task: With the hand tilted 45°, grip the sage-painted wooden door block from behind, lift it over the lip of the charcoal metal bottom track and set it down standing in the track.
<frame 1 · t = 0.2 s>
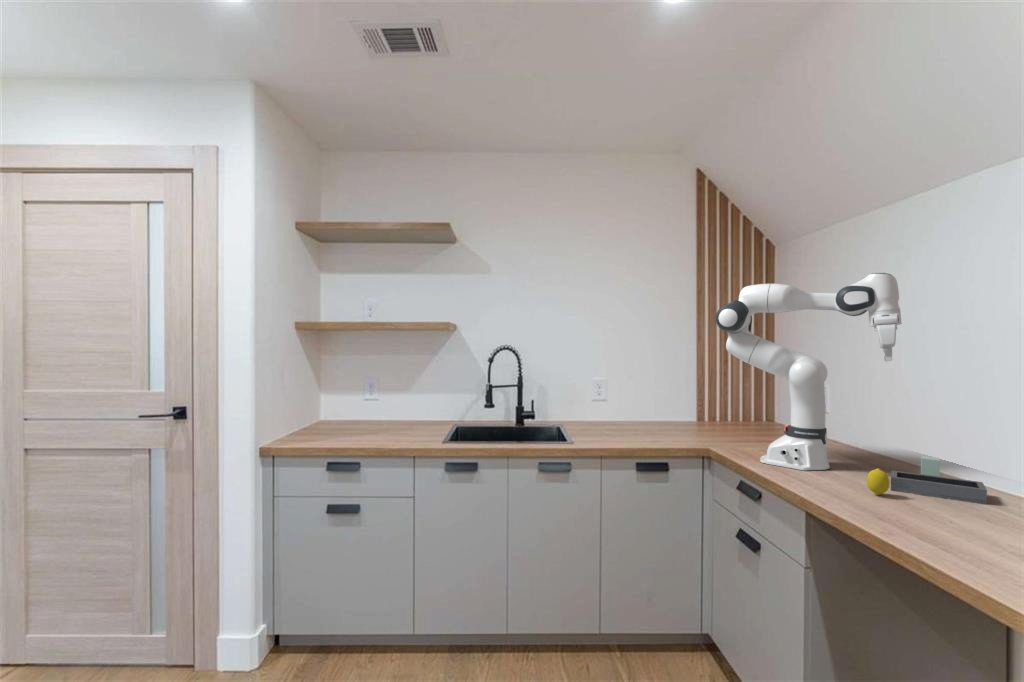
hand: (888, 361, 178), 39 cm above the table, tool pointing down, fingers open, 8 cm apart
lemon: (877, 496, 157), on the table
bottom track: (935, 492, 160), on the table
door block: (929, 482, 171), on the table
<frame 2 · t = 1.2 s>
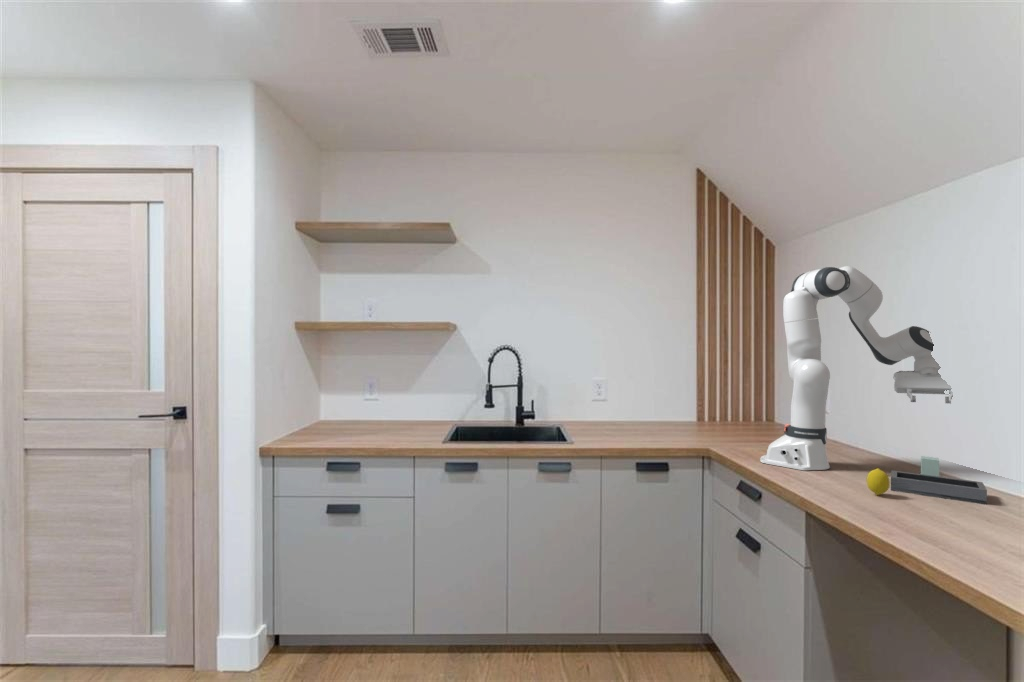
hand: (930, 401, 181), 25 cm above the table, tool tilted 45°, fingers open, 8 cm apart
nothing on the table moved.
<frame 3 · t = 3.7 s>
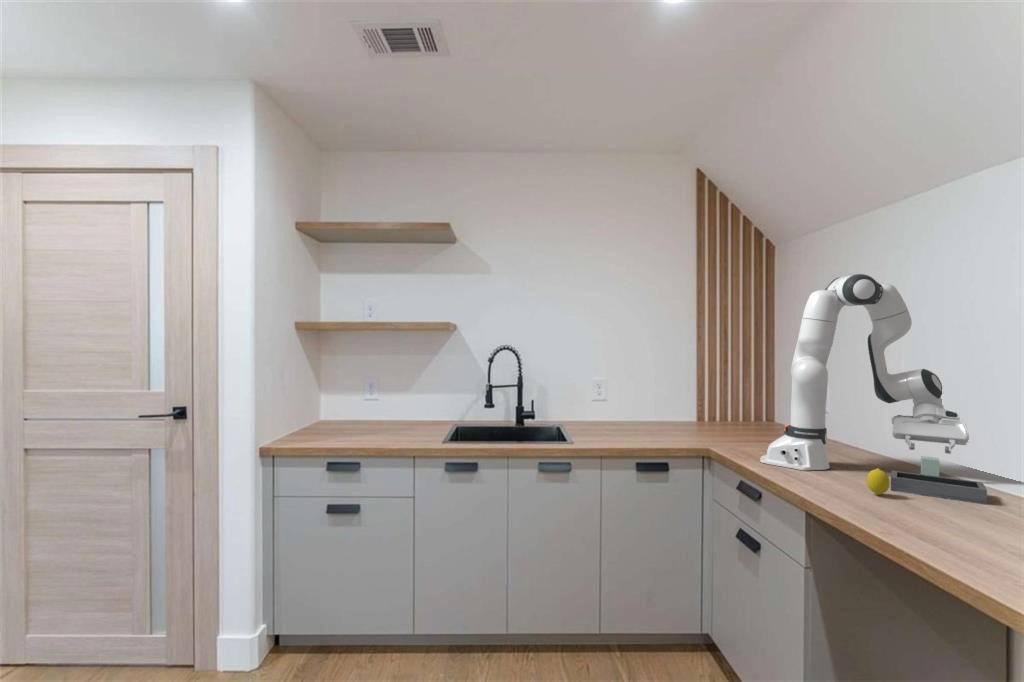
hand: (929, 450, 175), 9 cm above the table, tool tilted 45°, fingers open, 8 cm apart
nothing on the table moved.
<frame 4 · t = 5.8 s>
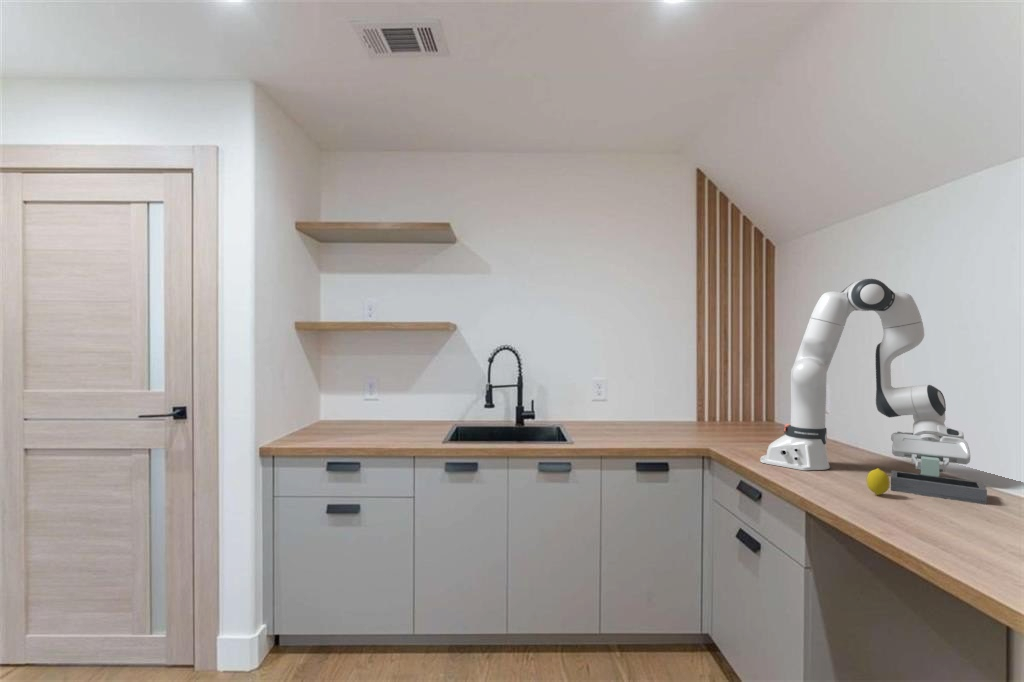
hand: (930, 469, 170), 4 cm above the table, tool tilted 45°, fingers closed on door block, 4 cm apart
door block: (929, 482, 171), on the table, touching gripper
everything else where it was.
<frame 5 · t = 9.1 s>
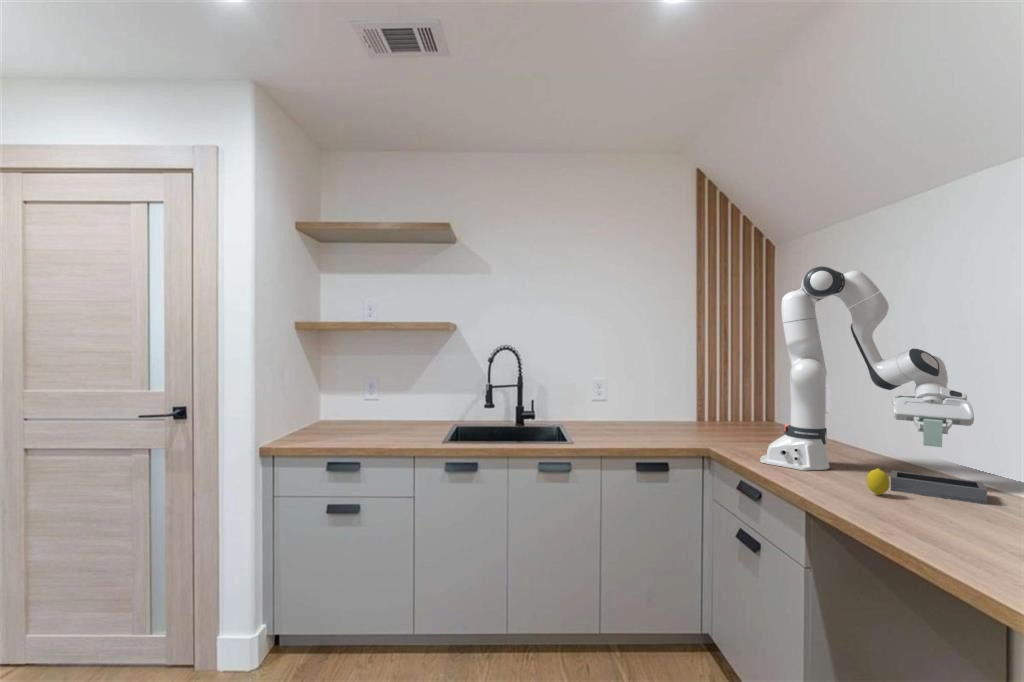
hand: (932, 431, 167), 17 cm above the table, tool tilted 45°, fingers closed on door block, 4 cm apart
door block: (932, 445, 167), point 13 cm above the table, touching gripper
everything else where it was.
when the fingers open (7 cm above the table, at t = 12.7 s): door block drops 1 cm, resting on bottom track.
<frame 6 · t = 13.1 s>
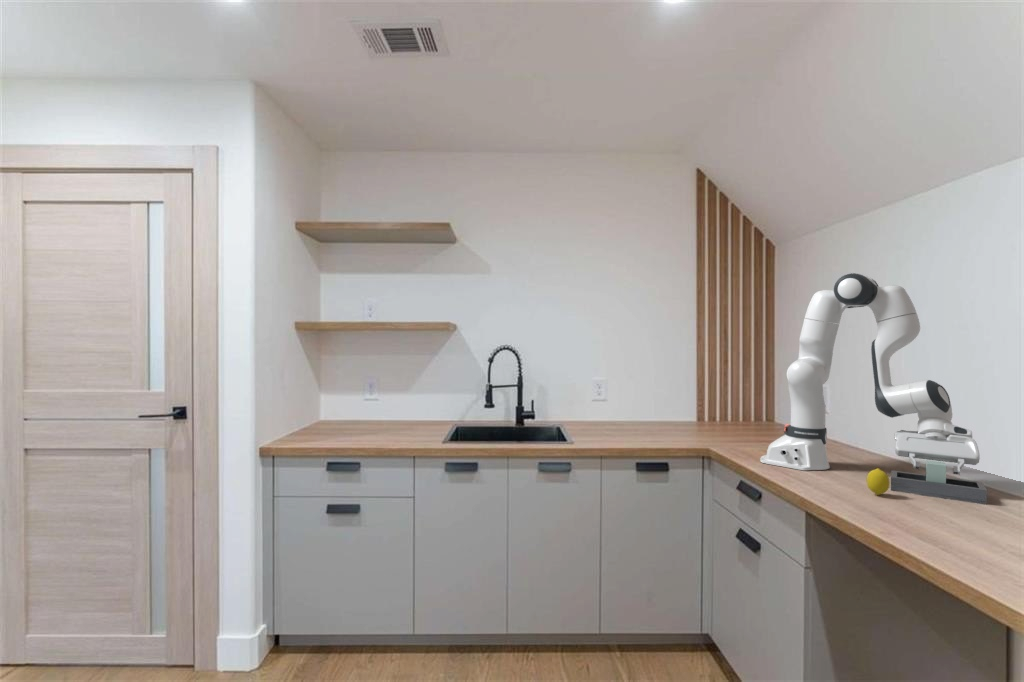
hand: (936, 470, 159), 7 cm above the table, tool tilted 45°, fingers open, 8 cm apart
door block: (935, 489, 160), point 1 cm above the table, touching bottom track
everything else where it was.
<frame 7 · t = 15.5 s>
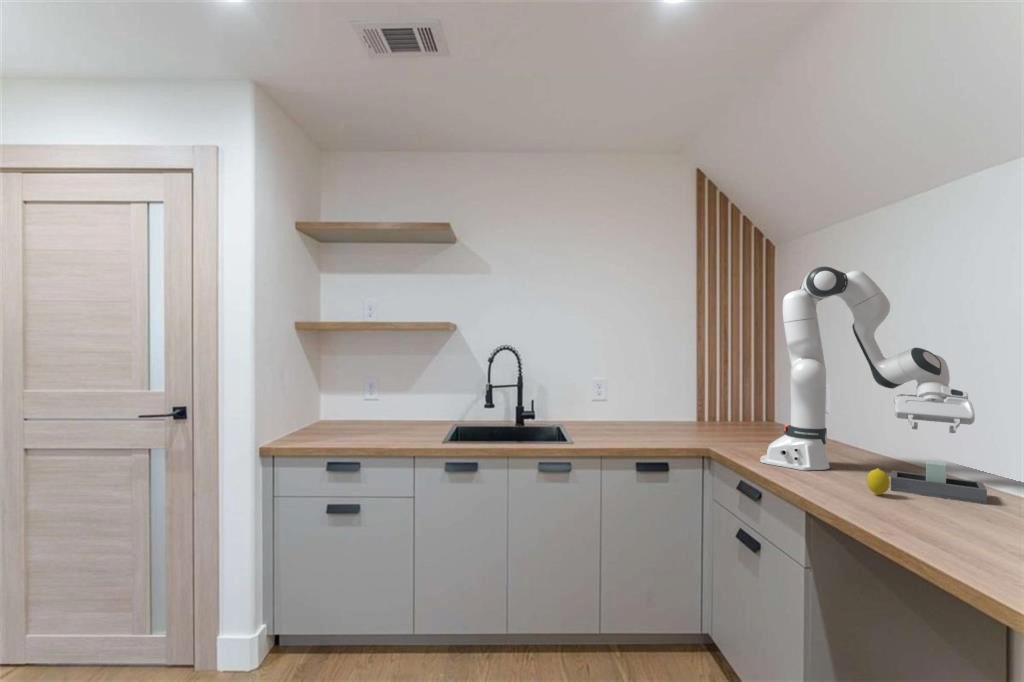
hand: (933, 430, 168), 18 cm above the table, tool tilted 45°, fingers open, 8 cm apart
nothing on the table moved.
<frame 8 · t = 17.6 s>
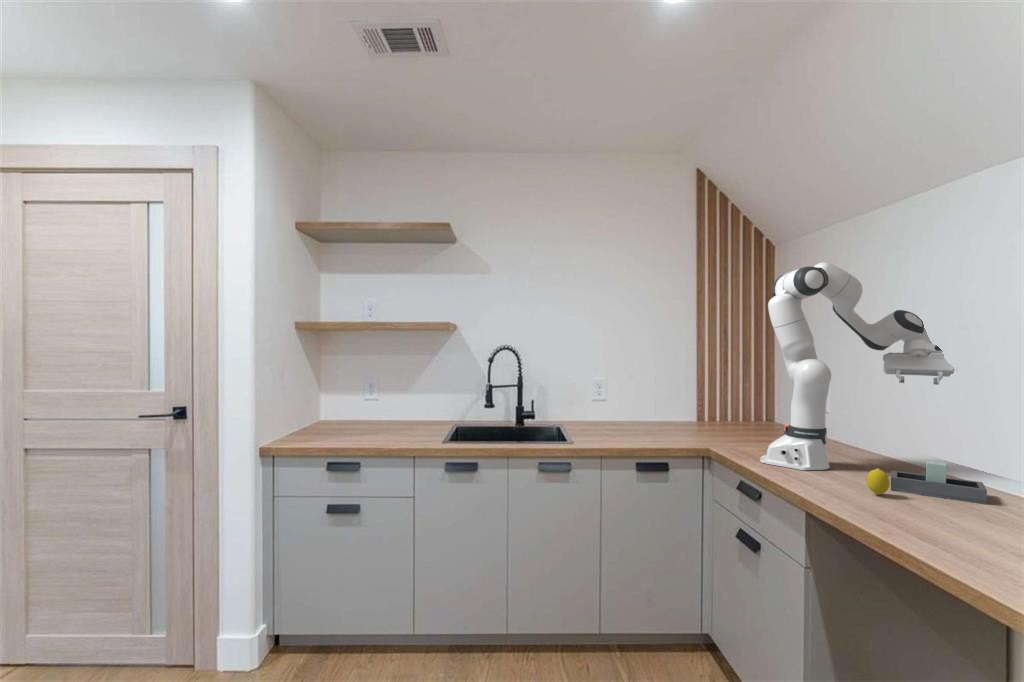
hand: (918, 382, 182), 31 cm above the table, tool tilted 45°, fingers open, 8 cm apart
nothing on the table moved.
at the end: door block inside the target area (0.1 cm from its centre), point 1.0 cm above the table; door block tilted 0°; the gripper is holding nothing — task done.
